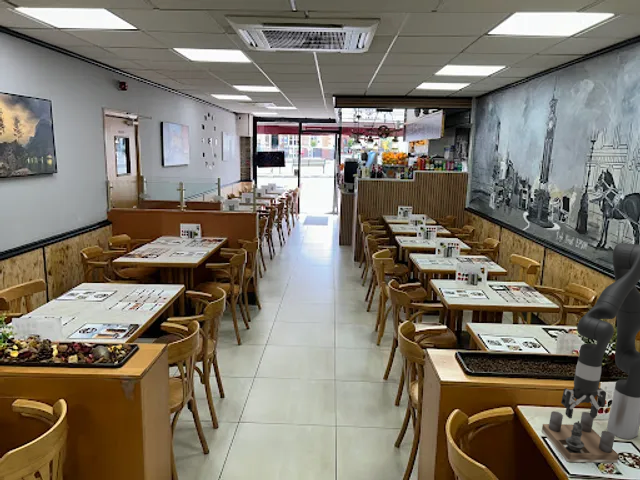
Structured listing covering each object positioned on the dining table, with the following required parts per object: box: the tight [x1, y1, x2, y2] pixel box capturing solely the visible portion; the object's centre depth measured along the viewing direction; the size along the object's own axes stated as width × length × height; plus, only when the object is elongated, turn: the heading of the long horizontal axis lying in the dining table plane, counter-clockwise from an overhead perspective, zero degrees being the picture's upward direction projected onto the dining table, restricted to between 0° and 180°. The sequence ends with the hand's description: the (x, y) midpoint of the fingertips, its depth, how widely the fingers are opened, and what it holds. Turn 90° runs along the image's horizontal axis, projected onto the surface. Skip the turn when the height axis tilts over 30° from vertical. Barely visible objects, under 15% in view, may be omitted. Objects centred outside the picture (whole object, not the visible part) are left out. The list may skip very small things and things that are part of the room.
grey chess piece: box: [565, 420, 584, 453], centre depth 172 cm, size 6×6×12 cm
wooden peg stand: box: [541, 410, 620, 464], centre depth 177 cm, size 18×18×9 cm
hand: (580, 417), depth 170 cm, fingers open, 8 cm apart
